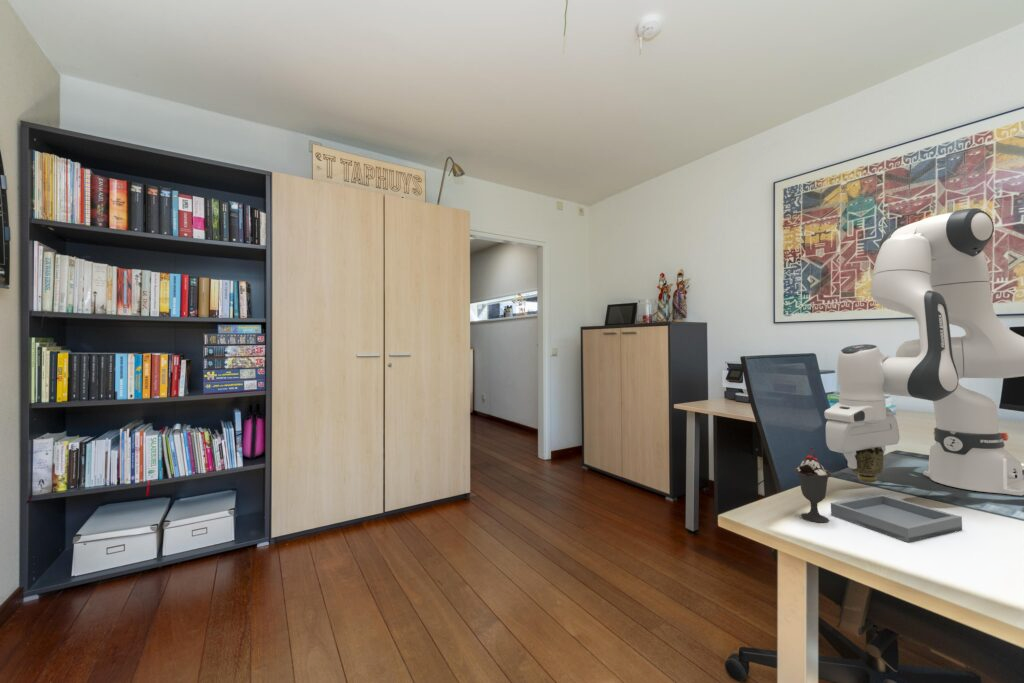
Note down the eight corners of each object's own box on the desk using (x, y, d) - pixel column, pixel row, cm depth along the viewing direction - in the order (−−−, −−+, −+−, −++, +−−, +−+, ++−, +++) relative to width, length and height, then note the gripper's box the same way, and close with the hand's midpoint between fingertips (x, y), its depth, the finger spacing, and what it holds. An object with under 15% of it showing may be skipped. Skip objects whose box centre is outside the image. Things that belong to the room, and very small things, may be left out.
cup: (841, 480, 103) (837, 448, 103) (858, 475, 106) (854, 444, 106) (877, 487, 96) (872, 453, 97) (894, 481, 99) (890, 448, 99)
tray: (881, 505, 95) (880, 494, 95) (962, 530, 81) (961, 516, 81) (831, 514, 90) (830, 503, 90) (908, 542, 77) (907, 528, 77)
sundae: (820, 512, 92) (817, 445, 92) (841, 524, 85) (838, 452, 85) (789, 511, 92) (786, 445, 93) (807, 524, 86) (804, 452, 86)
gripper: (877, 404, 107) (880, 457, 107) (818, 412, 102) (822, 467, 101) (906, 408, 101) (909, 463, 101) (845, 416, 95) (849, 475, 95)
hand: (865, 465), depth 101 cm, fingers closed on cup, 6 cm apart
